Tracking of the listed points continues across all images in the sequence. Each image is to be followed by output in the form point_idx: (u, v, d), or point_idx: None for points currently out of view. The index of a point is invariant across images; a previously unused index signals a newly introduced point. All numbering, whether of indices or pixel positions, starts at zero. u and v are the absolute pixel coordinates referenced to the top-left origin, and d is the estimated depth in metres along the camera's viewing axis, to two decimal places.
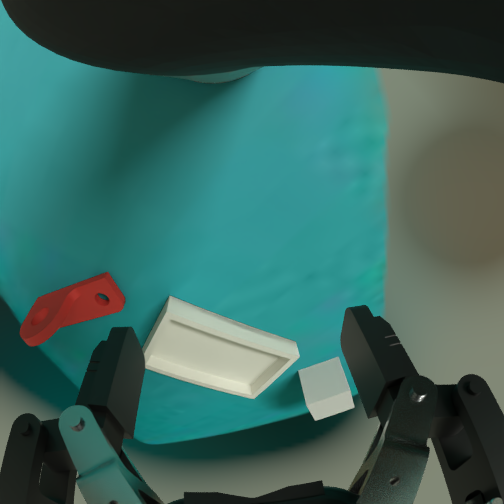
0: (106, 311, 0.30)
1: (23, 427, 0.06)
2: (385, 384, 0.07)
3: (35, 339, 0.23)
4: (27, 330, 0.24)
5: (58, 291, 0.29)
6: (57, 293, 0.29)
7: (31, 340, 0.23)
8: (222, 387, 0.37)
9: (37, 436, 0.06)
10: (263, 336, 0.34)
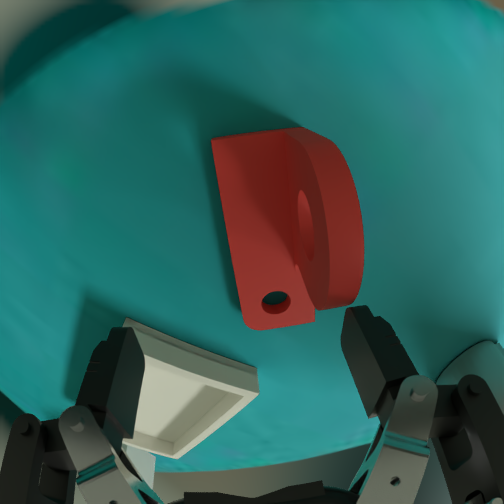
0: (247, 300, 0.18)
1: (23, 427, 0.06)
2: (385, 384, 0.07)
3: (348, 287, 0.10)
4: None
5: None
6: None
7: (353, 274, 0.09)
8: None
9: (37, 436, 0.06)
10: None
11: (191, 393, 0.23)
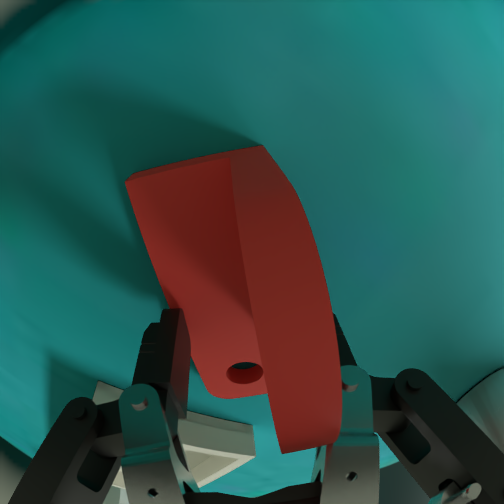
0: (208, 372, 0.14)
1: (77, 412, 0.06)
2: None
3: (315, 445, 0.05)
4: None
5: None
6: None
7: (323, 438, 0.05)
8: None
9: (94, 420, 0.06)
10: None
11: None
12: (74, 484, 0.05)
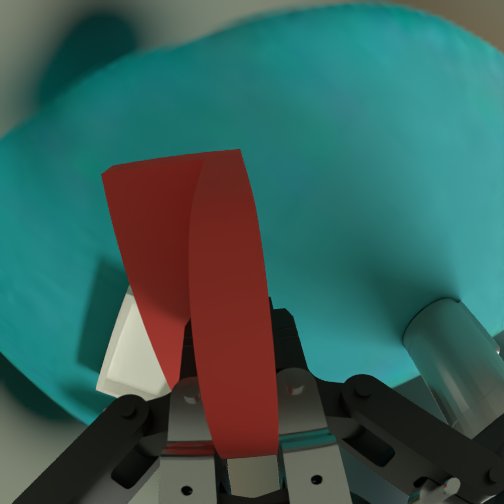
0: (171, 370, 0.13)
1: (126, 410, 0.07)
2: None
3: (255, 454, 0.05)
4: None
5: None
6: None
7: (261, 448, 0.05)
8: (108, 368, 0.28)
9: (145, 417, 0.07)
10: None
11: None
12: (106, 481, 0.05)
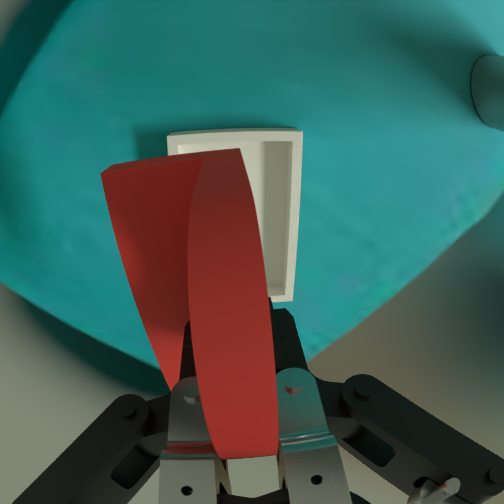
0: (171, 370, 0.13)
1: (126, 410, 0.07)
2: None
3: (255, 455, 0.05)
4: None
5: None
6: None
7: (260, 449, 0.05)
8: None
9: (144, 417, 0.07)
10: None
11: (258, 183, 0.26)
12: (106, 481, 0.05)
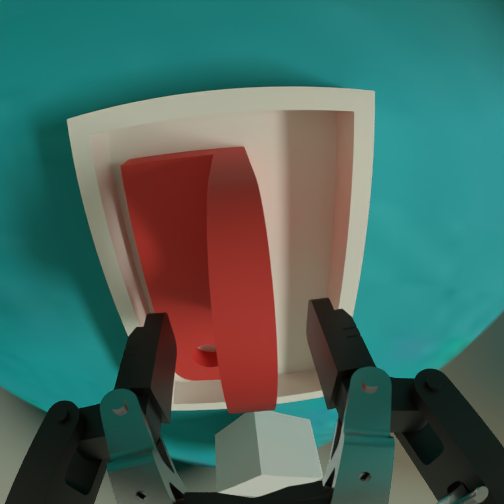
0: None
1: (60, 415, 0.06)
2: (338, 374, 0.08)
3: (257, 405, 0.06)
4: None
5: None
6: None
7: (262, 395, 0.06)
8: None
9: (76, 423, 0.06)
10: None
11: (275, 205, 0.12)
12: (63, 487, 0.05)
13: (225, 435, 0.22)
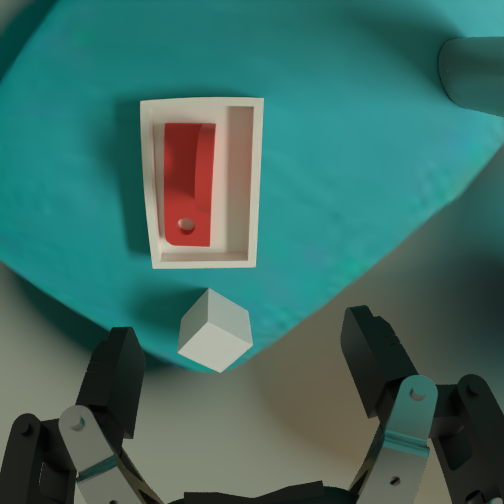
0: (169, 221, 0.29)
1: (23, 427, 0.06)
2: (385, 384, 0.07)
3: (204, 191, 0.21)
4: None
5: None
6: None
7: (206, 184, 0.20)
8: (154, 220, 0.28)
9: (37, 436, 0.06)
10: None
11: (222, 147, 0.27)
12: (39, 498, 0.04)
13: (188, 314, 0.36)
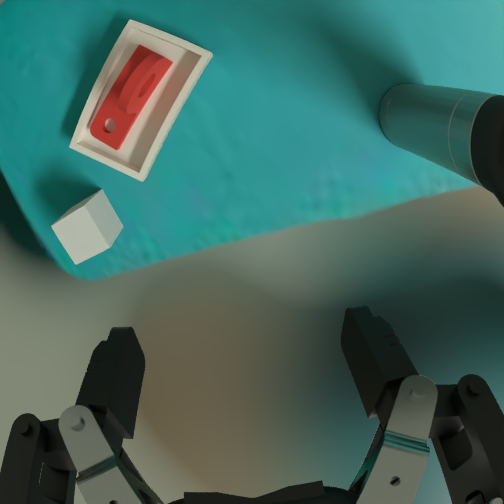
0: (99, 115, 0.29)
1: (23, 427, 0.06)
2: (385, 384, 0.07)
3: (129, 90, 0.22)
4: (148, 75, 0.23)
5: (150, 93, 0.29)
6: (149, 94, 0.29)
7: (133, 85, 0.22)
8: (90, 108, 0.28)
9: (37, 436, 0.06)
10: (163, 141, 0.32)
11: (165, 78, 0.29)
12: (39, 498, 0.04)
13: (76, 204, 0.35)
